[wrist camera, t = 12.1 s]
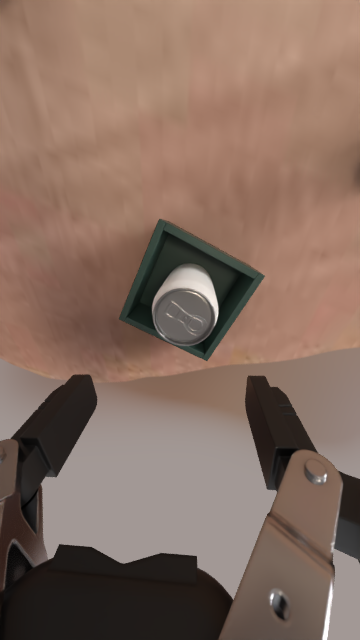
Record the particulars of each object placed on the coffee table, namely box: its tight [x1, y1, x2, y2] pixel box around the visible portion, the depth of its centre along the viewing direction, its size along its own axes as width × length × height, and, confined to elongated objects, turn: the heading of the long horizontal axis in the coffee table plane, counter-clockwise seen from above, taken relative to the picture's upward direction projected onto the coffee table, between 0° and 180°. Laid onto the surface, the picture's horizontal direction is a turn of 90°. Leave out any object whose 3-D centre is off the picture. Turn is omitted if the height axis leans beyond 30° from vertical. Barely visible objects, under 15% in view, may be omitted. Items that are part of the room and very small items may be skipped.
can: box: [152, 263, 218, 346], centre depth 24 cm, size 6×6×12 cm
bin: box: [119, 219, 265, 361], centre depth 27 cm, size 13×13×7 cm
